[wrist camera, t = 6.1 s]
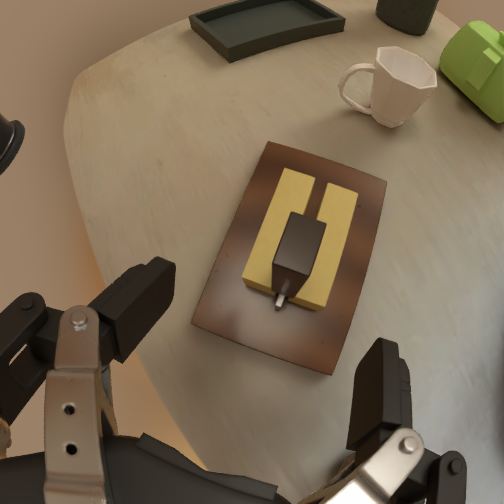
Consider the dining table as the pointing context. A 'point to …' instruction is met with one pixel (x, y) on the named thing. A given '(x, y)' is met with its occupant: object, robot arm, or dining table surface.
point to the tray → (263, 25)
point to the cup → (394, 85)
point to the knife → (295, 255)
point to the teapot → (477, 66)
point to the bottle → (407, 14)
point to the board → (263, 304)
